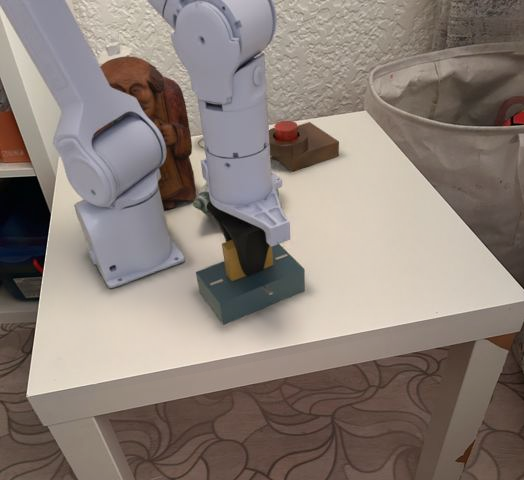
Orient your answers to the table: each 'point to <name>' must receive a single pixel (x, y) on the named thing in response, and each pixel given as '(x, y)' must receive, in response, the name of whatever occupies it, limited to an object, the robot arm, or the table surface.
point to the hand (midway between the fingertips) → (249, 266)
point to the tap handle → (233, 262)
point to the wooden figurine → (159, 121)
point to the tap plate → (251, 286)
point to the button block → (304, 147)
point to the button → (286, 131)
